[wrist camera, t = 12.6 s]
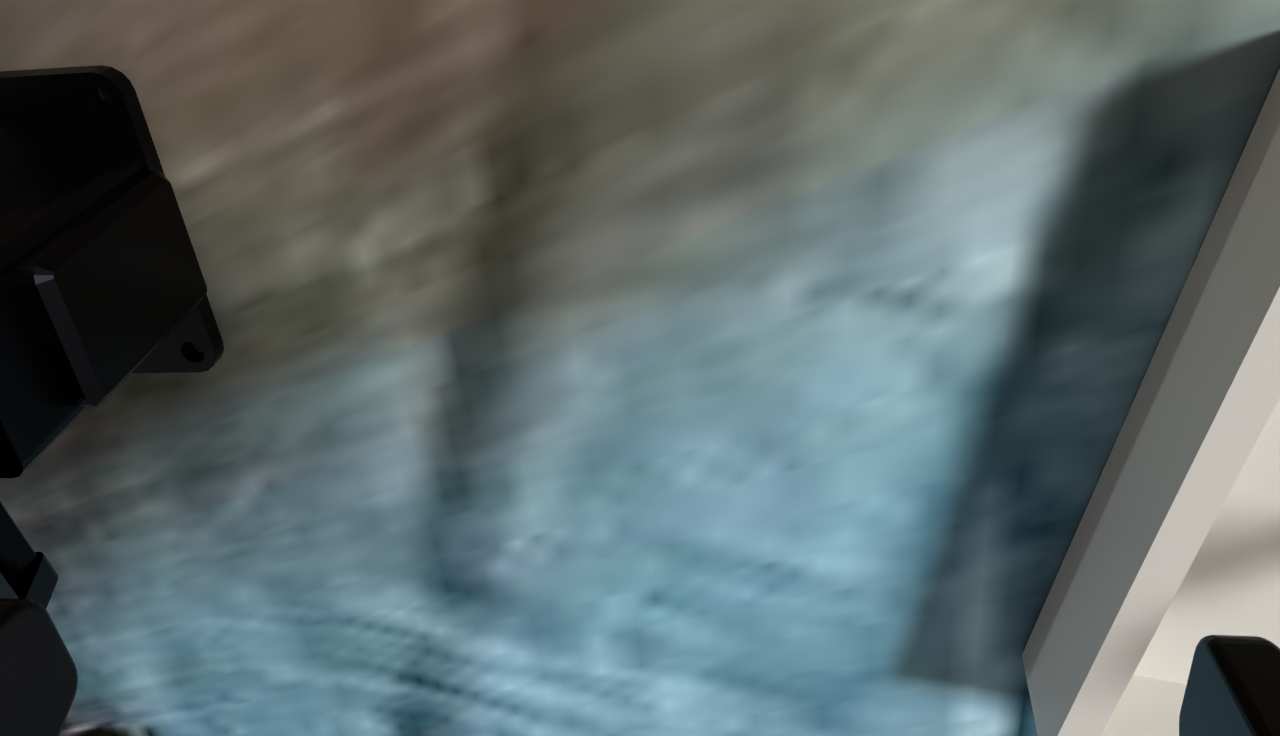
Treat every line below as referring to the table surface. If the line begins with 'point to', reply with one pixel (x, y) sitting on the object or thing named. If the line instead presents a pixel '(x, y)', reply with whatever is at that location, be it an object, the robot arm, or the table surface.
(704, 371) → the table surface
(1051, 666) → the tray
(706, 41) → the table surface
